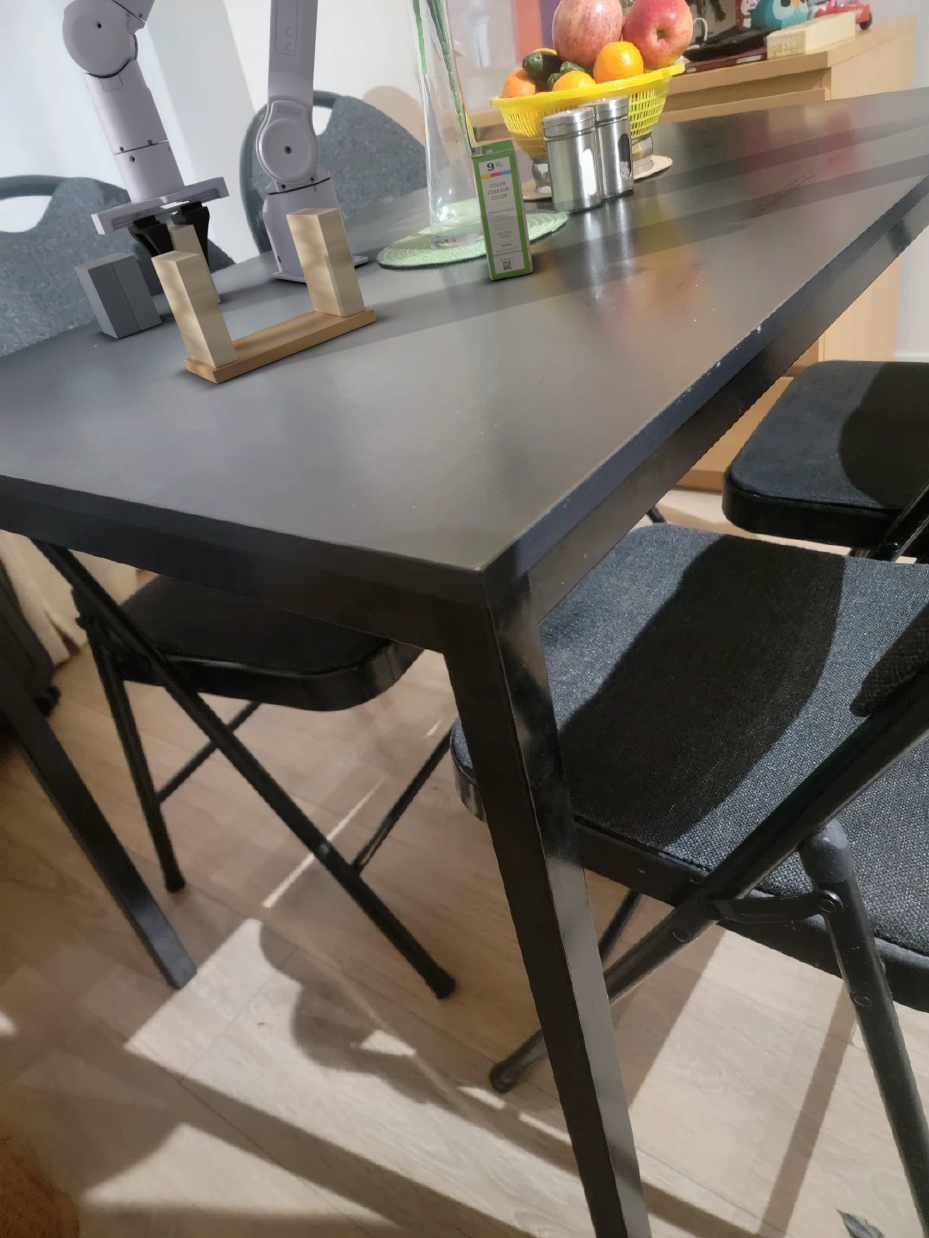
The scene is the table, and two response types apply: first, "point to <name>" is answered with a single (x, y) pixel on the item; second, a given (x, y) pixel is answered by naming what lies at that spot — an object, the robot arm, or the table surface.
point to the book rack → (333, 316)
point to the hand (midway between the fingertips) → (193, 285)
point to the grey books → (118, 294)
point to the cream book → (189, 246)
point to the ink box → (501, 207)
